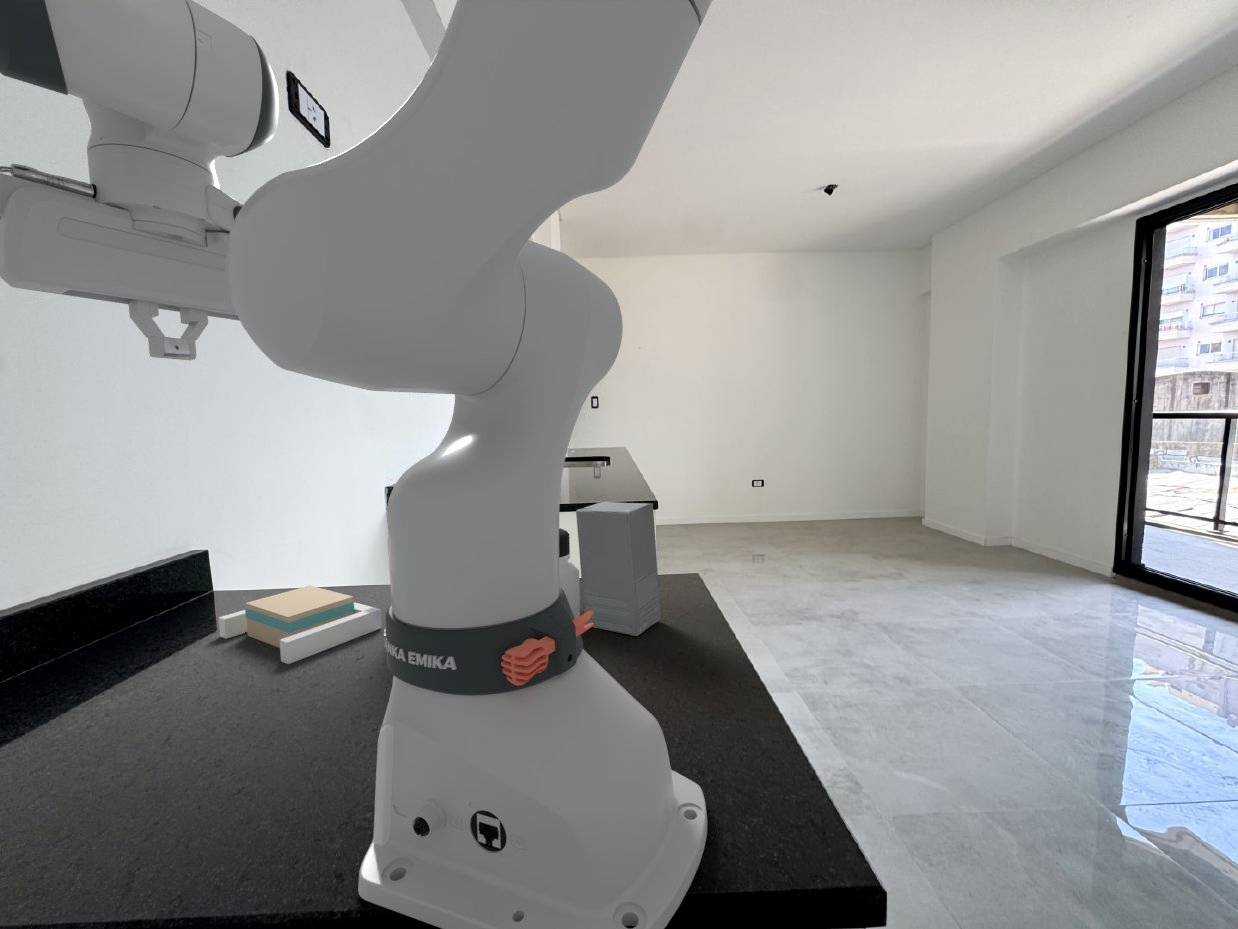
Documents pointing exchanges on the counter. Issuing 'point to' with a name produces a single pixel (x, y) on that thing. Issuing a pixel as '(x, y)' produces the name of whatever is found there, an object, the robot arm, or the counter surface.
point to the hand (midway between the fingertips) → (173, 358)
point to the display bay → (312, 632)
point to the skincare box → (619, 566)
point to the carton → (295, 613)
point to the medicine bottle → (568, 574)
